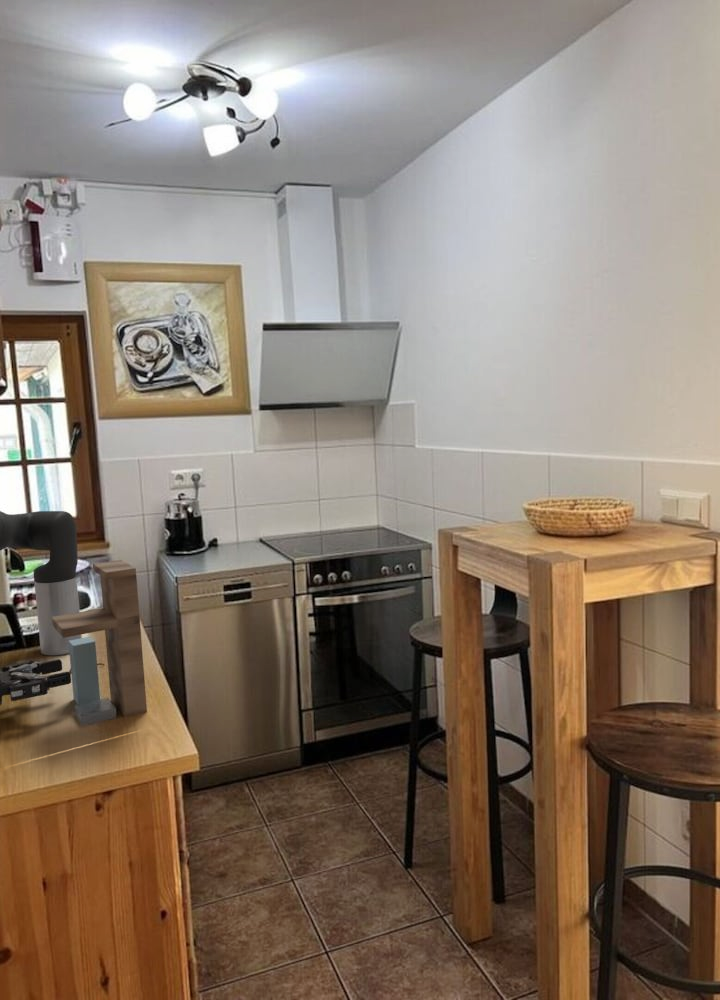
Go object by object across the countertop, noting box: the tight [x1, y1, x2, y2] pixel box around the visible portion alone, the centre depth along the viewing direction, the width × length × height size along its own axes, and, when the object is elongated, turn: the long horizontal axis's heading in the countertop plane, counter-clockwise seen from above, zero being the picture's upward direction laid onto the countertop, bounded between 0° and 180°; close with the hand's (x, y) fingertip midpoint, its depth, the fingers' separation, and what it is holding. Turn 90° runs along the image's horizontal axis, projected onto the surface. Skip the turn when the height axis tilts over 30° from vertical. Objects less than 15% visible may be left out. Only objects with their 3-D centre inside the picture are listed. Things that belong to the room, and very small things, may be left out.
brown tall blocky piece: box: [51, 559, 148, 718], centre depth 135 cm, size 10×13×27 cm
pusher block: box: [68, 636, 101, 705], centre depth 142 cm, size 4×4×12 cm
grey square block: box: [74, 697, 118, 727], centre depth 134 cm, size 6×6×2 cm
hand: (65, 670), depth 140 cm, fingers open, 8 cm apart
